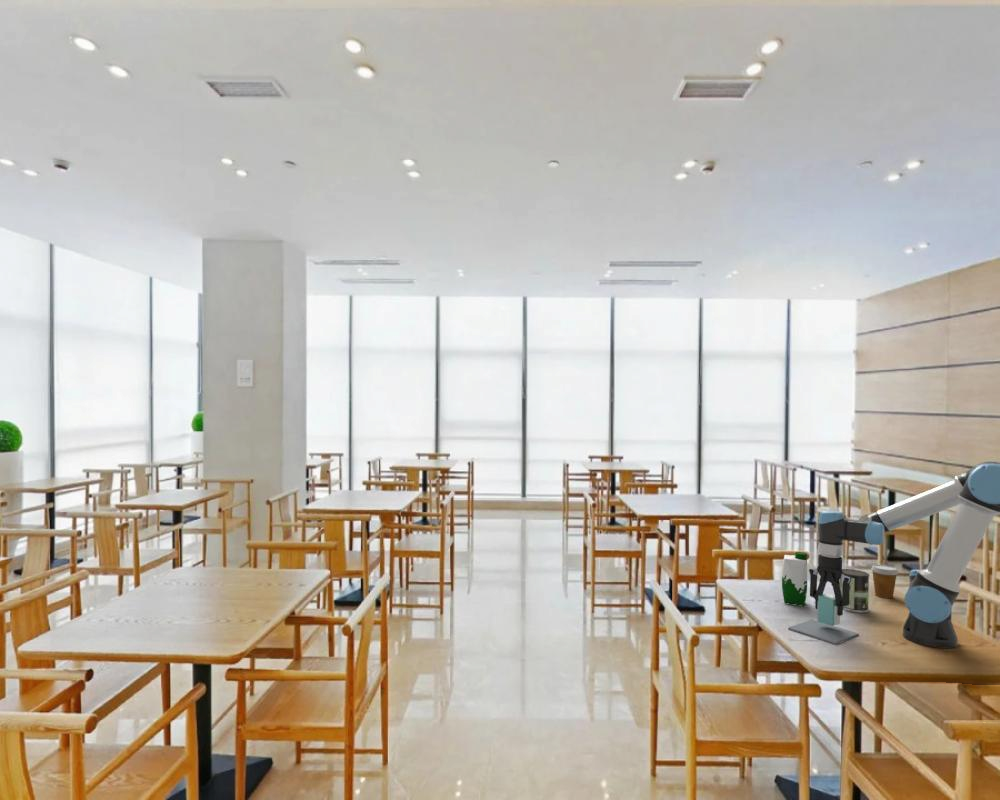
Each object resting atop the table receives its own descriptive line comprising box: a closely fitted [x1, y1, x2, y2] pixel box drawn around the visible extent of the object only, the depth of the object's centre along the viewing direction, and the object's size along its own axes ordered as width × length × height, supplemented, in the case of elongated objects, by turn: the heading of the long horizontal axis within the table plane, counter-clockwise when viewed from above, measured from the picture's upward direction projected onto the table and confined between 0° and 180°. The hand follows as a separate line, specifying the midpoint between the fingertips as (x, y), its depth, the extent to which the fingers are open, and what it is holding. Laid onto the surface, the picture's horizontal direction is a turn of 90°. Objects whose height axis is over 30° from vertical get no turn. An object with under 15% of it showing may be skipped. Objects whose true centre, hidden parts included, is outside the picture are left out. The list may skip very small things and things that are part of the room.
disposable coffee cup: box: [870, 564, 899, 599], centre depth 251 cm, size 10×10×12 cm
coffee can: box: [839, 568, 870, 614], centre depth 234 cm, size 10×10×14 cm
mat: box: [787, 618, 859, 645], centre depth 207 cm, size 16×16×1 cm
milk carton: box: [781, 551, 808, 607], centre depth 239 cm, size 9×9×20 cm
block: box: [817, 593, 837, 626], centre depth 209 cm, size 5×5×9 cm
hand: (828, 621), depth 209 cm, fingers closed on block, 5 cm apart
